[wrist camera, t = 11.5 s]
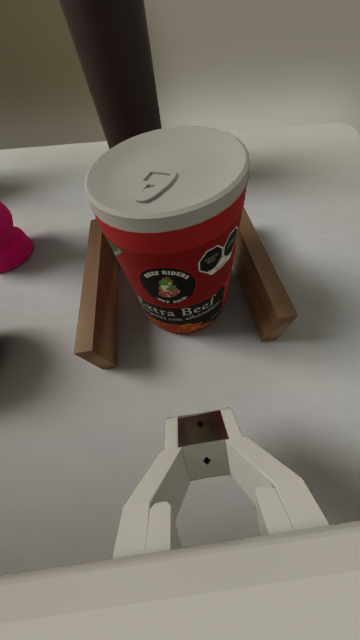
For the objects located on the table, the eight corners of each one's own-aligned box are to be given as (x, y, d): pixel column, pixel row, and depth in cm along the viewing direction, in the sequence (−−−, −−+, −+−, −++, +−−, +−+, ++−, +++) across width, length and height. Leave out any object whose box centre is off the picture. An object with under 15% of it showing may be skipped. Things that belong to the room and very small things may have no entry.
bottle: (175, 188, 27) (126, -233, 10) (129, 203, 27) (-10, -215, 9) (160, 167, 31) (102, -179, 13) (119, 180, 30) (0, -163, 12)
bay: (102, 369, 16) (73, 353, 13) (108, 251, 23) (90, 220, 19) (276, 339, 16) (297, 315, 12) (231, 229, 22) (236, 192, 19)
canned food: (136, 334, 17) (53, 220, 8) (153, 265, 21) (110, 130, 11) (225, 340, 16) (258, 215, 7) (226, 266, 20) (247, 117, 10)
